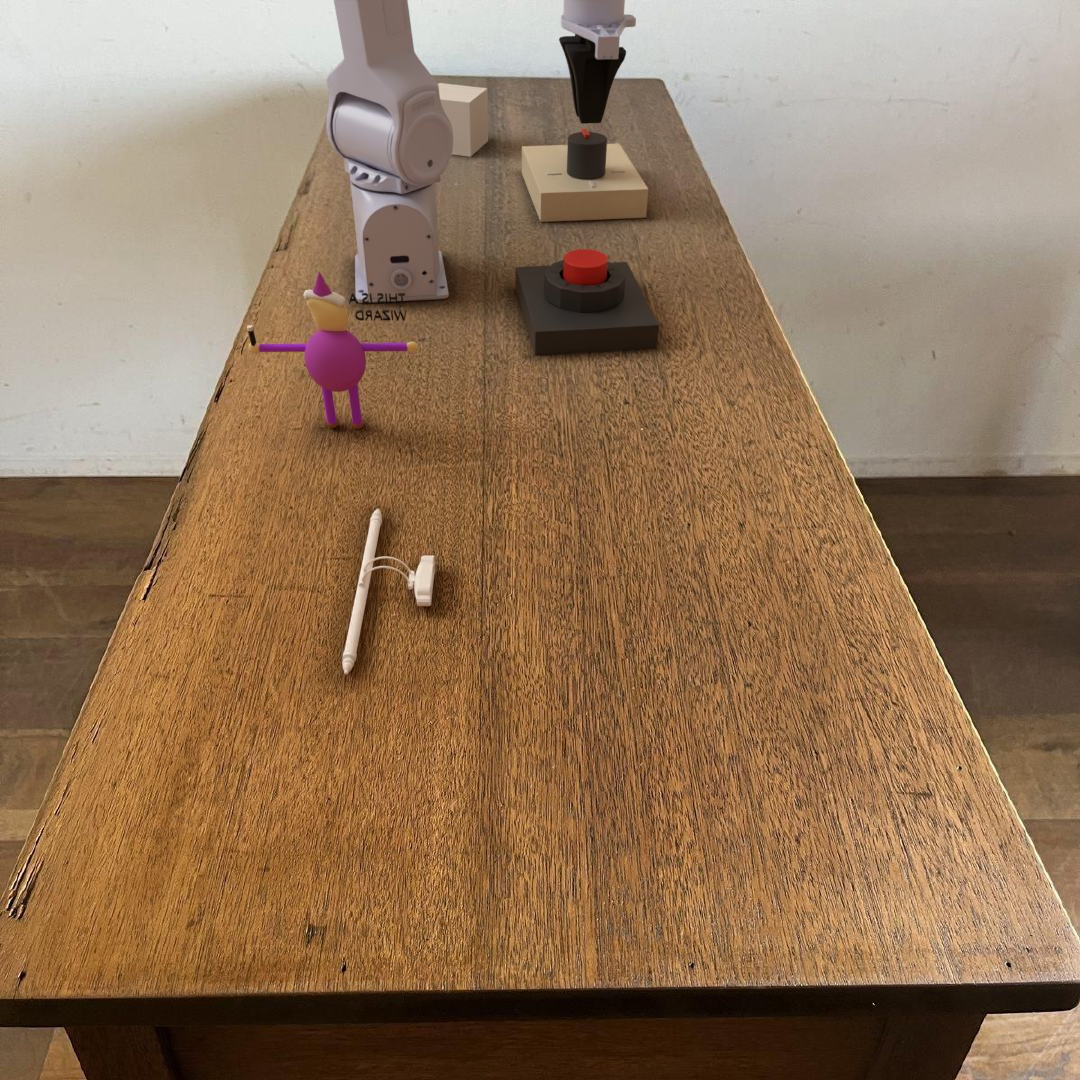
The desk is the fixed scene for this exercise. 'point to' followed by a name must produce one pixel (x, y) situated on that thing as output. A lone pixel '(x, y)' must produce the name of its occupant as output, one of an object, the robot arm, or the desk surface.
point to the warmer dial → (586, 155)
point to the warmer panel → (582, 186)
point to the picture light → (420, 582)
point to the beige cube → (466, 116)
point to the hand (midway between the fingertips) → (588, 119)
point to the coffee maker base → (584, 311)
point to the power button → (585, 267)
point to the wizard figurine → (336, 347)
